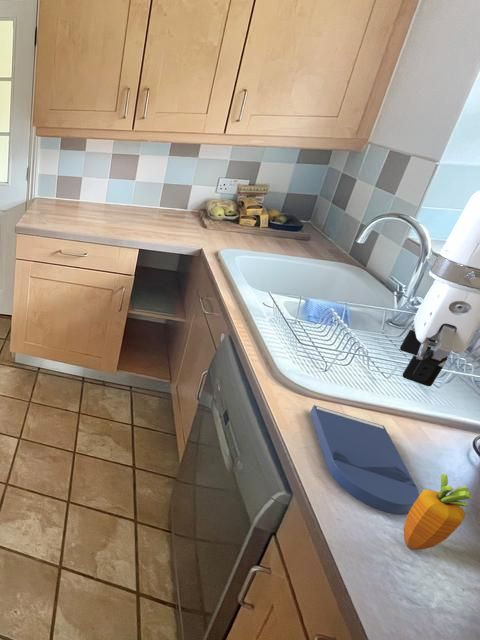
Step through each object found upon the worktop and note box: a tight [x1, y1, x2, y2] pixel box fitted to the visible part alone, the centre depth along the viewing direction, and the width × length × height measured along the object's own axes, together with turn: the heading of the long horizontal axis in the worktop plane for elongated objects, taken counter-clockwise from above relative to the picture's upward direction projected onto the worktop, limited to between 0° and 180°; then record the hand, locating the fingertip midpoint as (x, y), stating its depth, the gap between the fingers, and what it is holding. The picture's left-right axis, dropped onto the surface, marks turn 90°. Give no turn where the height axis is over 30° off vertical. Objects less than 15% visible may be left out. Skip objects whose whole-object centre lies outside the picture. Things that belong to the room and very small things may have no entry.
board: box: [309, 404, 420, 515], centre depth 80 cm, size 12×22×3 cm, turn 153°
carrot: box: [402, 473, 472, 551], centre depth 63 cm, size 5×5×15 cm
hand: (413, 366), depth 68 cm, fingers open, 9 cm apart
